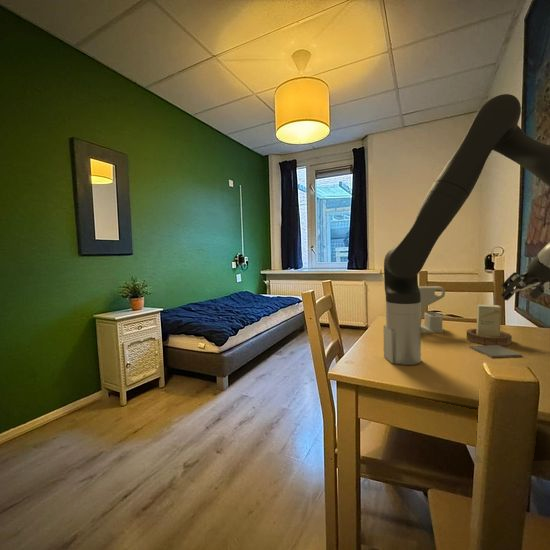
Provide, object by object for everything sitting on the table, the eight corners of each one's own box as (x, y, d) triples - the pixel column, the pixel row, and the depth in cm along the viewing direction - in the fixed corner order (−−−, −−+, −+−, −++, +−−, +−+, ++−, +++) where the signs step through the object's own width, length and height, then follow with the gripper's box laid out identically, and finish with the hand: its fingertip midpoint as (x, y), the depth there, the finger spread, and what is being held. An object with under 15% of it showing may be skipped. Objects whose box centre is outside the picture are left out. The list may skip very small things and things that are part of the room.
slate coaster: (490, 357, 84) (490, 355, 84) (469, 347, 93) (469, 346, 93) (521, 356, 84) (521, 354, 84) (497, 346, 93) (497, 344, 93)
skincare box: (477, 341, 99) (478, 306, 98) (476, 337, 103) (476, 303, 102) (500, 343, 96) (501, 307, 95) (497, 339, 100) (498, 304, 99)
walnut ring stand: (483, 346, 94) (483, 338, 93) (459, 335, 106) (459, 329, 106) (520, 345, 94) (520, 337, 93) (492, 334, 106) (492, 328, 106)
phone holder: (435, 326, 120) (435, 283, 119) (445, 333, 110) (445, 286, 109) (391, 326, 123) (391, 284, 122) (397, 332, 113) (397, 287, 112)
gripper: (573, 248, 77) (534, 286, 89) (519, 250, 77) (487, 288, 89) (594, 269, 72) (550, 306, 84) (537, 271, 72) (501, 308, 84)
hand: (518, 297), depth 87 cm, fingers open, 8 cm apart
